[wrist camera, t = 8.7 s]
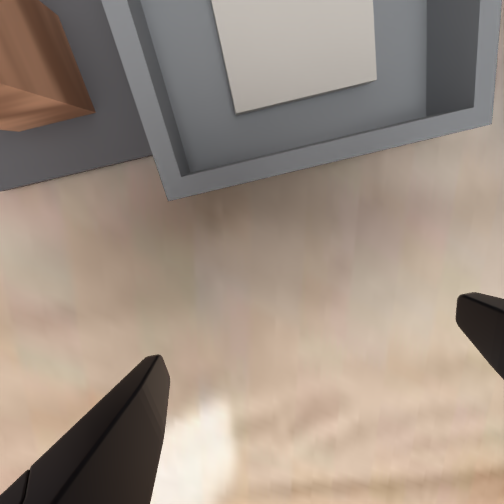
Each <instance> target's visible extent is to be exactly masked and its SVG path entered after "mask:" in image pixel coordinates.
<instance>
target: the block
mask: <svg viewBox="0 0 504 504" xmlns="http://www.w3.org/2000/svg"><path fill="white" fill-rule="evenodd" d="M93 113H96V112H95V109H94V107H93V104H92V102H91V99H90V96H89V94H88V91H87V89H86V86H85V84H84V81H83V78H82V76H81V73H80V71H79V68H78V66H77V63H76V60H75V58H74V55H73V53H72V50H71V47H70V45H69V42H68V40H67V37H66V35H65V32H64V29H63V27H62V24H61V22H60V19H59V17H58V15H57V14H55V13H54V12H53V11H52V10H50V9H49V8H48V7H47V6H45V5H44V4H43V3H42V2H40V1H39V0H0V130H7V131H17V132H20V131H24V130H28V129H32V128H36V127H40V126H44V125H48V124H52V123H56V122H60V121H64V120H68V119H72V118H76V117H80V116H84V115H89V114H93Z"/></svg>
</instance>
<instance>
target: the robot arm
mask: <svg viewBox="0 0 504 504" xmlns="http://www.w3.org/2000/svg"><path fill="white" fill-rule="evenodd" d="M456 322H457V324H458V326H459V327H460V329H461V330H462V331H463V332H464V334H465V335H466V336H467V337H468V338H469V340H470V341H471V342H472V343H473V344H474V346H475V347H476V348H477V349H478V350H479V352H480V353H481V354H482V355H483V356H484V358H485V359H486V360H487V361H488V363H489V364H490V365H491V366H492V367H493V368H494V369H495V371H496V372H497V373H498V374H499V375H500V376H501V377H502V378H503V379H504V299H502V298H498V297H493V296H489V295H485V294H481V293H476V292H472V293H467V294H462V295H460V296H459V297H458V299H457V308H456ZM169 388H170V376H169V373H168V370H167V368H166V365H165V363H164V360H163V358H162V356H161V355H159V354H158V355H153V356H148V357H146V358H145V359H143V360H142V361H141V362H140V363H139V364H138V365H137V366H136V367H135V368H134V369H133V370H132V371H131V372H130V373H129V374H128V375H127V376H126V377H124V378H123V379H122V380H121V381H120V382H119V383H118V384H117V385H116V386H115V387H114V388H113V389H112V390H111V391H110V392H109V393H108V394H107V395H106V396H105V397H103V398H102V399H101V400H100V401H99V402H98V403H97V404H96V405H95V406H94V407H93V408H92V409H91V410H90V411H89V412H88V413H87V414H86V415H85V416H83V417H82V418H81V419H80V420H79V421H78V422H77V423H76V424H75V425H74V426H73V427H72V428H71V429H70V430H69V431H68V432H67V433H66V434H65V435H63V436H62V437H61V438H60V439H59V440H58V441H57V442H56V443H55V444H54V445H53V446H52V447H51V448H50V449H49V450H48V451H47V452H46V453H44V454H43V455H42V456H41V457H40V458H39V459H38V460H37V461H36V462H35V463H34V464H33V465H32V466H31V468H30V470H27V471H25V472H24V473H23V474H22V475H21V476H20V477H19V478H18V479H17V480H16V481H15V482H14V483H13V484H12V485H11V486H10V487H9V488H8V489H7V490H5V491H4V492H3V493H2V494H1V495H0V504H150V501H151V497H152V492H153V487H154V482H155V478H156V473H157V468H158V464H159V459H160V454H161V449H162V445H163V439H164V433H165V425H166V416H167V406H168V397H169Z"/></svg>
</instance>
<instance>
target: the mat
mask: <svg viewBox="0 0 504 504" xmlns="http://www.w3.org/2000/svg"><path fill="white" fill-rule="evenodd" d="M39 1H40V2H42V3H43V4H44V5H45V6H47V7H48V8H49V9H50V10H52V11H53V12H54V13H55V14H57V15H58V17H59V19H60V22H61V24H62V27H63V29H64V32H65V35H66V37H67V40H68V42H69V45H70V47H71V50H72V53H73V55H74V58H75V60H76V63H77V66H78V68H79V71H80V73H81V76H82V78H83V81H84V84H85V86H86V89H87V91H88V94H89V96H90V99H91V102H92V104H93V107H94V109H95V112H96V113H93V114H89V115H84V116H80V117H76V118H72V119H68V120H64V121H60V122H56V123H52V124H48V125H44V126H40V127H36V128H32V129H28V130H24V131H20V132H17V131H7V130H0V191H5V190H9V189H14V188H18V187H22V186H26V185H30V184H34V183H39V182H43V181H47V180H51V179H55V178H59V177H64V176H68V175H72V174H76V173H80V172H85V171H89V170H93V169H97V168H101V167H105V166H110V165H114V164H118V163H122V162H126V161H131V160H135V159H139V158H143V157H147V156H151V155H153V154H152V151H151V148H150V145H149V142H148V139H147V136H146V133H145V130H144V127H143V124H142V121H141V118H140V115H139V112H138V109H137V106H136V103H135V100H134V97H133V94H132V91H131V88H130V85H129V82H128V79H127V76H126V73H125V70H124V67H123V64H122V61H121V58H120V55H119V52H118V49H117V46H116V43H115V40H114V37H113V34H112V31H111V28H110V25H109V22H108V19H107V16H106V13H105V10H104V7H103V4H102V1H101V0H39Z"/></svg>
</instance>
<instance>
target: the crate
mask: <svg viewBox="0 0 504 504" xmlns="http://www.w3.org/2000/svg"><path fill="white" fill-rule="evenodd" d="M101 1H102V4H103V7H104V10H105V13H106V16H107V19H108V22H109V25H110V28H111V31H112V34H113V37H114V40H115V43H116V46H117V49H118V52H119V55H120V58H121V61H122V64H123V67H124V70H125V73H126V76H127V79H128V82H129V85H130V88H131V91H132V94H133V97H134V100H135V103H136V106H137V109H138V112H139V115H140V118H141V121H142V124H143V127H144V130H145V133H146V136H147V139H148V142H149V145H150V148H151V151H152V154H153V157H154V160H155V163H156V166H157V169H158V172H159V175H160V178H161V181H162V184H163V187H164V190H165V193H166V196H167V199H168V201H171V200H176V199H180V198H184V197H188V196H192V195H197V194H201V193H205V192H209V191H213V190H218V189H222V188H226V187H230V186H234V185H239V184H243V183H247V182H251V181H255V180H260V179H264V178H268V177H272V176H276V175H281V174H285V173H289V172H293V171H297V170H302V169H306V168H310V167H314V166H318V165H323V164H327V163H331V162H335V161H339V160H343V159H348V158H352V157H356V156H360V155H364V154H369V153H373V152H377V151H381V150H385V149H390V148H394V147H398V146H402V145H406V144H411V143H415V142H419V141H423V140H427V139H432V138H436V137H440V136H444V135H448V134H453V133H457V132H461V131H465V130H469V129H474V128H478V127H482V126H486V125H490V124H492V115H493V103H494V91H495V79H496V67H497V55H498V43H499V31H500V18H501V6H502V0H101Z"/></svg>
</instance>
